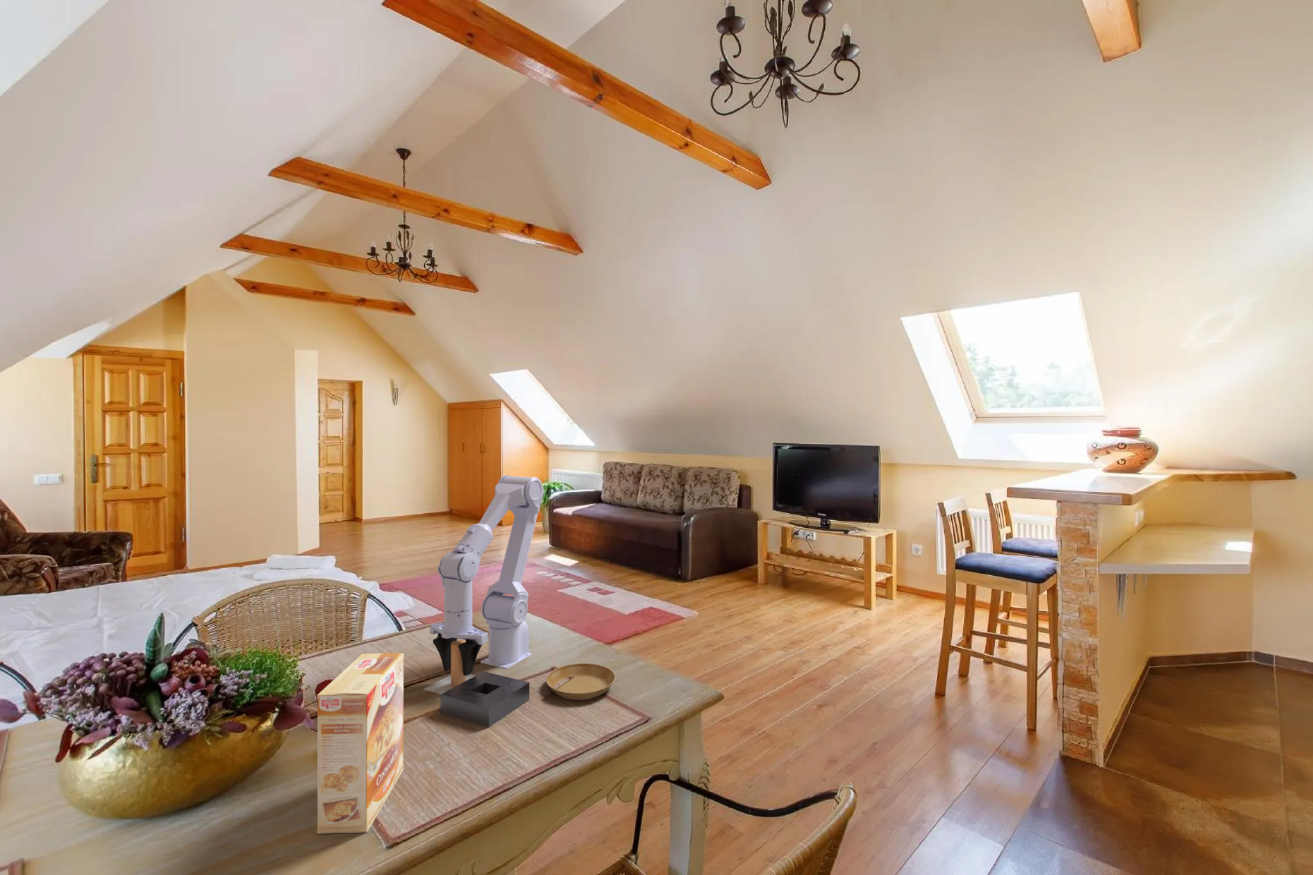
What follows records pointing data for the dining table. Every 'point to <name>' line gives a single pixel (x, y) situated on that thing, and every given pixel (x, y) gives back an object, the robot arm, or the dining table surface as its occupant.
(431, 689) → the mat
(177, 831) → the dining table surface
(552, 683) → the plant saucer
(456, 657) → the peg
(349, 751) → the coffeecake box
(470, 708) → the socket block
